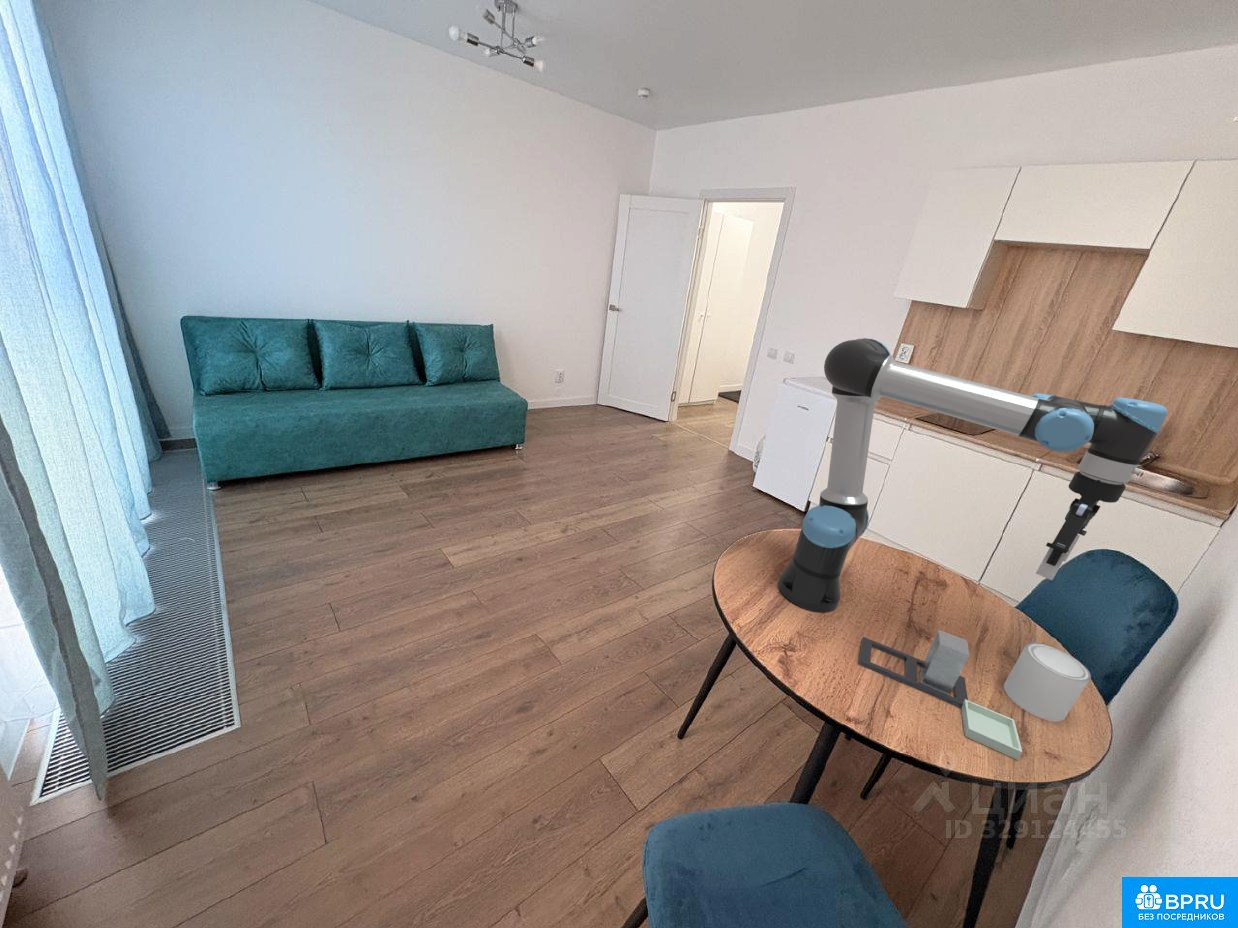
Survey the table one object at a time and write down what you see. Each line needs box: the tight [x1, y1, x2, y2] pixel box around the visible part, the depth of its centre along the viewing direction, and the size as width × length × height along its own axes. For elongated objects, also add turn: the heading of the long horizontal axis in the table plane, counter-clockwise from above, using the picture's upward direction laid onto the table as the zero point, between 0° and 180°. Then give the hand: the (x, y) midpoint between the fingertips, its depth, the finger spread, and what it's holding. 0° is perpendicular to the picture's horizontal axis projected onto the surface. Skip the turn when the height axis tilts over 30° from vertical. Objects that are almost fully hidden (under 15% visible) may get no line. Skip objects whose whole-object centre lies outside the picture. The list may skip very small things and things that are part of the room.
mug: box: [1003, 641, 1092, 723], centre depth 97 cm, size 14×10×11 cm
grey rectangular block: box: [920, 629, 970, 696], centre depth 97 cm, size 5×5×11 cm
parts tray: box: [960, 699, 1023, 761], centre depth 88 cm, size 8×8×2 cm
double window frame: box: [858, 636, 969, 709], centre depth 101 cm, size 20×9×1 cm, turn 59°
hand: (1051, 567), depth 101 cm, fingers open, 13 cm apart
